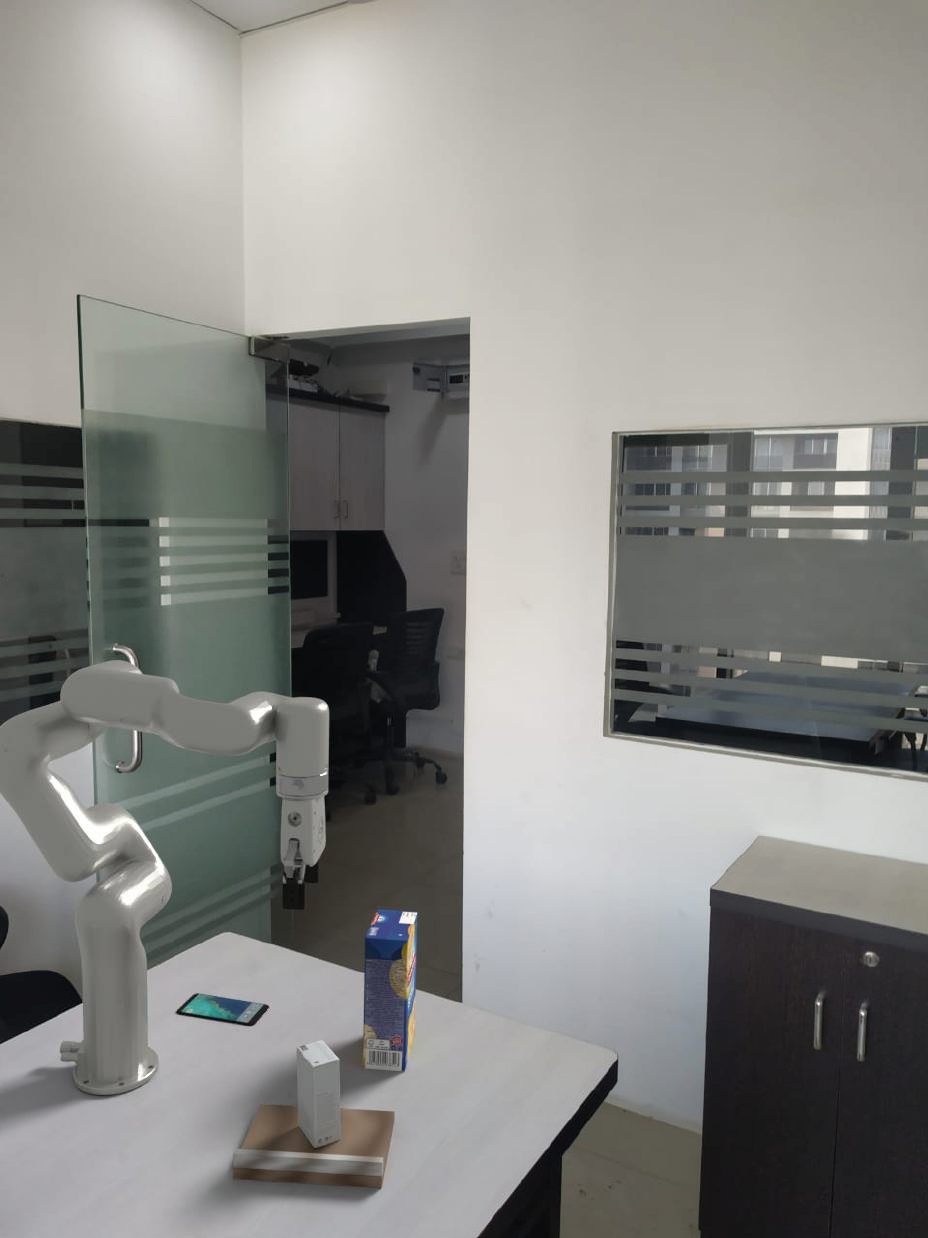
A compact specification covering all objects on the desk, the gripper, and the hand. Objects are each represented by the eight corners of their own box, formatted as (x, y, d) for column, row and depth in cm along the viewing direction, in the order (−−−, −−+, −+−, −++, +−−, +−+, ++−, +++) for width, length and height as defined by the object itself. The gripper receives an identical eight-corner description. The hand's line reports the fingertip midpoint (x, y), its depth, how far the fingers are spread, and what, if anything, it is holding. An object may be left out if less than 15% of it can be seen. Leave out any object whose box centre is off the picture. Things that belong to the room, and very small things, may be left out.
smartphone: (253, 1025, 165) (174, 1011, 169) (253, 1029, 165) (174, 1015, 169) (270, 1004, 172) (195, 992, 176) (270, 1008, 172) (195, 996, 176)
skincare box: (342, 1140, 134) (343, 1059, 133) (312, 1151, 132) (313, 1068, 131) (323, 1116, 139) (324, 1037, 138) (294, 1126, 137) (295, 1046, 136)
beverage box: (414, 1034, 164) (417, 912, 162) (404, 1072, 153) (407, 941, 151) (375, 1031, 165) (377, 909, 162) (362, 1068, 154) (364, 938, 151)
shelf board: (233, 1179, 128) (233, 1154, 128) (260, 1113, 142) (260, 1091, 142) (381, 1188, 127) (382, 1163, 127) (394, 1121, 141) (394, 1098, 141)
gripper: (315, 802, 131) (314, 921, 133) (338, 767, 148) (336, 874, 150) (261, 799, 132) (261, 918, 134) (290, 765, 149) (289, 872, 151)
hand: (301, 895), depth 142 cm, fingers open, 9 cm apart
